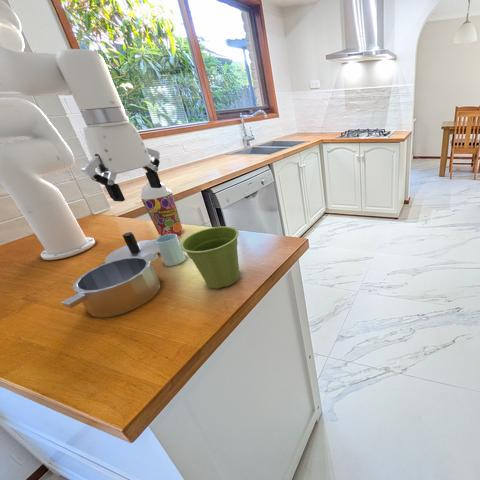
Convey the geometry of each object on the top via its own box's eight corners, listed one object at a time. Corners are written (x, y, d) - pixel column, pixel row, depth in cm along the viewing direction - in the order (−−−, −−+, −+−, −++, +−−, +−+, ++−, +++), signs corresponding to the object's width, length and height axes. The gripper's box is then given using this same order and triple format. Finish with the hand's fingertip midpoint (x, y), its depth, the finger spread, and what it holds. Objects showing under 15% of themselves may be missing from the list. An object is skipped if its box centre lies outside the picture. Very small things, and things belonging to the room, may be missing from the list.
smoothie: (173, 240, 89) (148, 177, 80) (151, 239, 91) (123, 177, 82) (191, 228, 97) (170, 169, 87) (170, 228, 98) (147, 169, 89)
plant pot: (186, 297, 63) (168, 252, 58) (211, 267, 74) (197, 227, 68) (239, 295, 63) (225, 250, 57) (256, 265, 73) (246, 225, 68)
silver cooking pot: (59, 319, 59) (41, 294, 56) (143, 269, 75) (133, 248, 72) (102, 332, 55) (85, 306, 52) (182, 277, 70) (173, 254, 67)
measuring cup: (160, 264, 77) (150, 241, 73) (176, 255, 81) (167, 232, 78) (174, 267, 75) (164, 243, 72) (189, 257, 79) (181, 234, 76)
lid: (94, 264, 79) (82, 243, 76) (142, 240, 91) (134, 221, 88) (130, 271, 74) (119, 249, 71) (176, 245, 86) (168, 225, 83)
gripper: (132, 115, 71) (159, 183, 79) (48, 124, 57) (91, 206, 64) (154, 113, 68) (179, 183, 76) (71, 122, 54) (113, 207, 62)
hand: (139, 193), depth 70 cm, fingers open, 9 cm apart
